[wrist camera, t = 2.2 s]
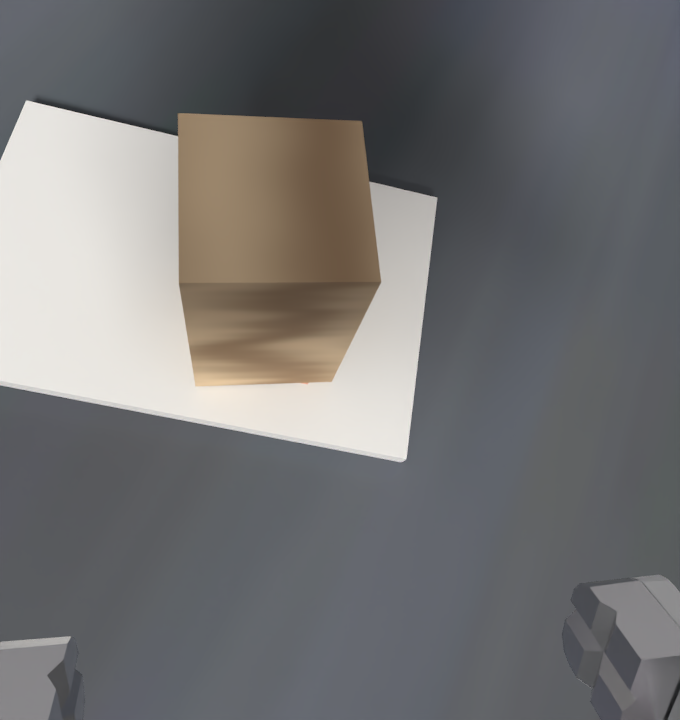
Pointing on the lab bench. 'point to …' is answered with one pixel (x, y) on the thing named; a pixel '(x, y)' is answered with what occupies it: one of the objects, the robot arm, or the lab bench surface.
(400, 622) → the lab bench surface
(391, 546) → the lab bench surface
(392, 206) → the plate
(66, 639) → the robot arm
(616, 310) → the lab bench surface
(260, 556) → the lab bench surface
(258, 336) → the oak block
